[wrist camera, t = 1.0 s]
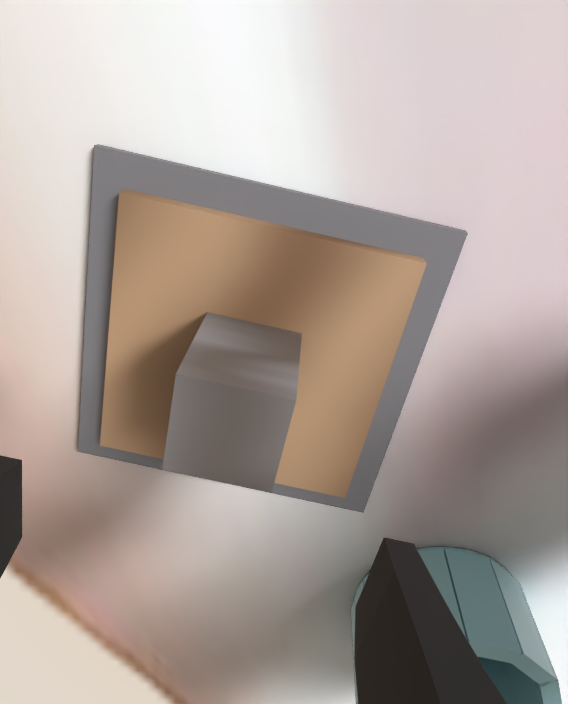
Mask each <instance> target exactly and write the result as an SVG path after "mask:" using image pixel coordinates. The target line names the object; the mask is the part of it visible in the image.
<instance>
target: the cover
mask: <svg viewBox="0 0 568 704" xmlns="http://www.w3.org/2000/svg"><path fill="white" fill-rule="evenodd" d="M426 265H427V263H426V262H425V260H424V258H421V257H417V256H413V255H408V254H404V253H400V252H395V251H391V250H387V249H383V248H378V247H374V246H370V245H365V244H361V243H357V242H352V241H348V240H344V239H339V238H335V237H331V236H327V235H322V234H318V233H314V232H309V231H305V230H301V229H296V228H292V227H288V226H284V225H279V224H275V223H271V222H266V221H262V220H258V219H253V218H249V217H245V216H240V215H236V214H232V213H228V212H223V211H219V210H215V209H210V208H206V207H202V206H197V205H193V204H189V203H184V202H180V201H176V200H172V199H167V198H163V197H159V196H154V195H150V194H146V193H141V192H137V191H133V190H129V189H125V190H123V191H121V192H119V201H118V214H117V227H116V241H115V254H114V267H113V280H112V293H111V307H110V320H109V333H108V346H107V359H106V372H105V386H104V399H103V412H102V425H101V438H100V446H104V447H109V448H114V449H118V450H123V451H128V452H132V453H137V454H142V455H146V456H151V457H156V458H160V459H164V460H163V467H162V469H163V470H168V471H173V472H177V473H182V474H187V475H192V476H196V477H201V478H206V479H210V480H215V481H220V482H224V483H229V484H234V485H238V486H243V487H248V488H252V489H257V490H262V491H266V492H271V493H272V490H273V486H274V483H277V484H282V485H287V486H291V487H296V488H301V489H305V490H310V491H315V492H319V493H324V494H329V495H333V496H338V497H343V498H345V497H346V494H347V491H348V489H349V486H350V483H351V480H352V477H353V474H354V471H355V468H356V466H357V463H358V460H359V457H360V454H361V451H362V448H363V445H364V443H365V440H366V437H367V434H368V431H369V428H370V425H371V422H372V420H373V417H374V414H375V411H376V408H377V405H378V402H379V400H380V397H381V394H382V391H383V388H384V385H385V382H386V379H387V377H388V374H389V371H390V368H391V365H392V362H393V359H394V356H395V354H396V351H397V348H398V345H399V342H400V339H401V336H402V333H403V331H404V328H405V325H406V322H407V319H408V316H409V313H410V311H411V308H412V305H413V302H414V299H415V296H416V293H417V290H418V288H419V285H420V282H421V279H422V276H423V273H424V270H425V267H426Z"/></svg>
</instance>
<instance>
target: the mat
mask: <svg viewBox="0 0 568 704" xmlns="http://www.w3.org/2000/svg"><path fill="white" fill-rule="evenodd" d="M125 189H129V190H133V191H137V192H141V193H146V194H150V195H154V196H159V197H163V198H167V199H172V200H176V201H180V202H184V203H189V204H193V205H197V206H202V207H206V208H210V209H215V210H219V211H223V212H228V213H232V214H236V215H240V216H245V217H249V218H253V219H258V220H262V221H266V222H271V223H275V224H279V225H284V226H288V227H292V228H296V229H301V230H305V231H309V232H314V233H318V234H322V235H327V236H331V237H335V238H339V239H344V240H348V241H352V242H357V243H361V244H365V245H370V246H374V247H378V248H383V249H387V250H391V251H395V252H400V253H404V254H408V255H413V256H417V257H421V258H424V260H425V262H426V263H427V265H426V267H425V270H424V273H423V276H422V279H421V282H420V285H419V288H418V290H417V293H416V296H415V299H414V302H413V305H412V308H411V311H410V313H409V316H408V319H407V322H406V325H405V328H404V331H403V333H402V336H401V339H400V342H399V345H398V348H397V351H396V354H395V356H394V359H393V362H392V365H391V368H390V371H389V374H388V377H387V379H386V382H385V385H384V388H383V391H382V394H381V397H380V400H379V402H378V405H377V408H376V411H375V414H374V417H373V420H372V422H371V425H370V428H369V431H368V434H367V437H366V440H365V443H364V445H363V448H362V451H361V454H360V457H359V460H358V463H357V466H356V468H355V471H354V474H353V477H352V480H351V483H350V486H349V489H348V491H347V494H346V497H345V498H343V497H338V496H333V495H329V494H324V493H319V492H315V491H310V490H305V489H301V488H296V487H291V486H287V485H282V484H277V483H274V486H273V490H272V493H274V494H279V495H284V496H288V497H293V498H298V499H302V500H307V501H312V502H316V503H321V504H326V505H331V506H335V507H340V508H345V509H349V510H354V511H359V512H364V509H365V506H366V504H367V501H368V498H369V496H370V493H371V490H372V488H373V485H374V482H375V480H376V477H377V474H378V472H379V469H380V466H381V464H382V461H383V458H384V456H385V453H386V450H387V447H388V445H389V442H390V439H391V437H392V434H393V431H394V429H395V426H396V423H397V421H398V418H399V415H400V413H401V410H402V407H403V405H404V402H405V399H406V397H407V394H408V391H409V389H410V386H411V383H412V381H413V378H414V375H415V373H416V370H417V367H418V365H419V362H420V359H421V357H422V354H423V351H424V349H425V346H426V343H427V341H428V338H429V335H430V332H431V330H432V327H433V324H434V322H435V319H436V316H437V314H438V311H439V308H440V306H441V303H442V300H443V298H444V295H445V292H446V290H447V287H448V284H449V282H450V279H451V276H452V274H453V271H454V268H455V266H456V263H457V260H458V258H459V255H460V252H461V250H462V247H463V244H464V242H465V239H466V236H467V234H468V233H467V232H466V231H465V230H460V229H456V228H452V227H448V226H443V225H439V224H435V223H431V222H426V221H422V220H418V219H414V218H409V217H405V216H401V215H397V214H392V213H388V212H384V211H380V210H375V209H371V208H367V207H363V206H358V205H354V204H350V203H345V202H341V201H337V200H333V199H328V198H324V197H320V196H316V195H311V194H307V193H303V192H299V191H294V190H290V189H286V188H282V187H277V186H273V185H269V184H265V183H260V182H256V181H252V180H248V179H243V178H239V177H235V176H231V175H226V174H222V173H218V172H214V171H209V170H205V169H201V168H196V167H192V166H188V165H184V164H179V163H175V162H171V161H167V160H162V159H158V158H154V157H150V156H145V155H141V154H137V153H133V152H128V151H124V150H120V149H116V148H111V147H107V146H103V145H99V144H98V145H94V158H93V177H92V196H91V214H90V233H89V252H88V271H87V289H86V308H85V327H84V346H83V364H82V383H81V402H80V421H79V440H78V452H82V453H87V454H92V455H96V456H101V457H106V458H110V459H115V460H120V461H124V462H129V463H134V464H138V465H143V466H148V467H152V468H157V469H162V467H163V460H164V459H160V458H156V457H151V456H146V455H142V454H137V453H132V452H128V451H123V450H118V449H114V448H109V447H104V446H100V438H101V425H102V412H103V399H104V386H105V372H106V359H107V346H108V333H109V320H110V307H111V293H112V280H113V267H114V254H115V241H116V227H117V214H118V201H119V192H121V191H123V190H125ZM162 470H163V469H162ZM167 471H168V470H167ZM171 472H173V471H171ZM176 473H177V472H176ZM181 474H182V473H181ZM185 475H187V474H185ZM190 476H192V475H190ZM195 477H196V476H195ZM199 478H201V477H199ZM204 479H206V478H204ZM209 480H210V479H209ZM213 481H215V480H213ZM218 482H220V481H218ZM223 483H224V482H223ZM227 484H229V483H227ZM232 485H234V484H232ZM237 486H238V485H237ZM241 487H243V486H241ZM246 488H248V487H246ZM251 489H252V488H251ZM256 490H257V489H256ZM260 491H262V490H260ZM265 492H266V491H265ZM270 493H271V492H270Z"/></svg>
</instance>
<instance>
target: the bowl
mask: <svg viewBox="0 0 568 704" xmlns="http://www.w3.org/2000/svg"><path fill="white" fill-rule="evenodd" d="M417 550H418V552H419V554H420V556H421V558H422V559H423V561H424V563H425V565H426V567H427V569H428V571H429V572H430V574H431V576H432V578H433V580H434V582H435V584H436V585H437V587H438V589H439V591H440V593H441V595H442V596H443V598H444V600H445V602H446V604H447V605H448V607H449V609H450V611H451V613H452V614H453V616H454V618H455V620H456V621H457V623H458V625H459V627H460V628H461V630H462V632H463V633H464V635H465V637H466V638H467V640H468V642H469V643H470V645H471V647H472V648H473V650H474V652H475V653H476V655H477V657H478V659H479V660H480V662H481V663H482V665H483V667H484V668H485V670H486V671H487V673H488V675H489V676H490V678H491V679H492V681H493V682H494V684H495V686H496V687H497V689H498V690H499V692H500V693H501V695H502V696H503V698H504V699H505V701H506V702H507V704H562V701H561V695H560V689H559V683H558V679H557V676H556V674H555V671H554V669H553V666H552V664H551V661H550V659H549V656H548V654H547V651H546V649H545V646H544V644H543V641H542V639H541V636H540V634H539V631H538V628H537V626H536V623H535V621H534V618H533V616H532V613H531V611H530V608H529V606H528V603H527V601H526V598H525V596H524V593H523V591H522V588H521V586H520V583H519V582H518V581H517V580H516V579H515V578H513V576H512V575H511V574H510V572H509V571H508V570H507V569H505V568H504V567H503V566H502V565H501V564H499V563H498V562H496V561H495V560H493V559H491V558H489V557H487V556H485V555H483V554H480V553H477V552H474V551H471V550H467V549H461V548H455V547H427V548H419V549H417ZM368 575H369V573H368V574H367V575H366V576H365V577H364V579H363V580H362V581H361V583H360V584H359V586H358V588H357V590H356V593H355V597H354V602H353V605H352V607H351V623H352V641H353V660H354V657H355V607H356V604H357V602H358V599H359V597H360V594H361V592H362V589H363V587H364V585H365V582H366V580H367V577H368ZM354 679H355V698H356V704H358V696H357V685H356V673H355V661H354Z"/></svg>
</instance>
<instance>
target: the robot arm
mask: <svg viewBox="0 0 568 704" xmlns="http://www.w3.org/2000/svg"><path fill="white" fill-rule="evenodd" d="M21 538H22V460H19V459H14V458H9V457H5V456H0V578H1V576H2V574H3V572H4V570H5V569H6V567H7V565H8V563H9V561H10V559H11V557H12V555H13V553H14V551H15V550H16V548H17V546H18V544H19V542H20V540H21ZM354 661H355V673H356V685H357V696H358V704H507V702H506V701H505V699H504V698H503V696H502V695H501V693H500V692H499V690H498V689H497V687H496V686H495V684H494V682H493V681H492V679H491V678H490V676H489V675H488V673H487V671H486V670H485V668H484V667H483V665H482V663H481V662H480V660H479V659H478V657H477V655H476V653H475V652H474V650H473V648H472V647H471V645H470V643H469V642H468V640H467V638H466V637H465V635H464V633H463V632H462V630H461V628H460V627H459V625H458V623H457V621H456V620H455V618H454V616H453V614H452V613H451V611H450V609H449V607H448V605H447V604H446V602H445V600H444V598H443V596H442V595H441V593H440V591H439V589H438V587H437V585H436V584H435V582H434V580H433V578H432V576H431V574H430V572H429V571H428V569H427V567H426V565H425V563H424V561H423V559H422V558H421V556H420V554H419V552H418V550H417V549H416V547H415V545H414V544H412V543H407V542H402V541H398V540H393V539H388V538H383V541H382V543H381V546H380V548H379V551H378V553H377V555H376V558H375V560H374V563H373V565H372V568H371V570H370V572H369V575H368V577H367V580H366V582H365V585H364V587H363V589H362V592H361V594H360V597H359V599H358V602H357V604H356V607H355V657H354Z"/></svg>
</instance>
